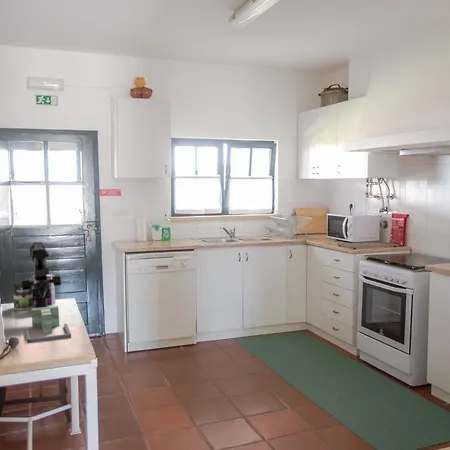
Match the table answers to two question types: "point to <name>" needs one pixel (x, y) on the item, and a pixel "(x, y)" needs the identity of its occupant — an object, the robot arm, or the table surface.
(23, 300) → the coffee can
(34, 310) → the T-block
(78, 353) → the table surface
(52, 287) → the candy bar box
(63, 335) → the frame
